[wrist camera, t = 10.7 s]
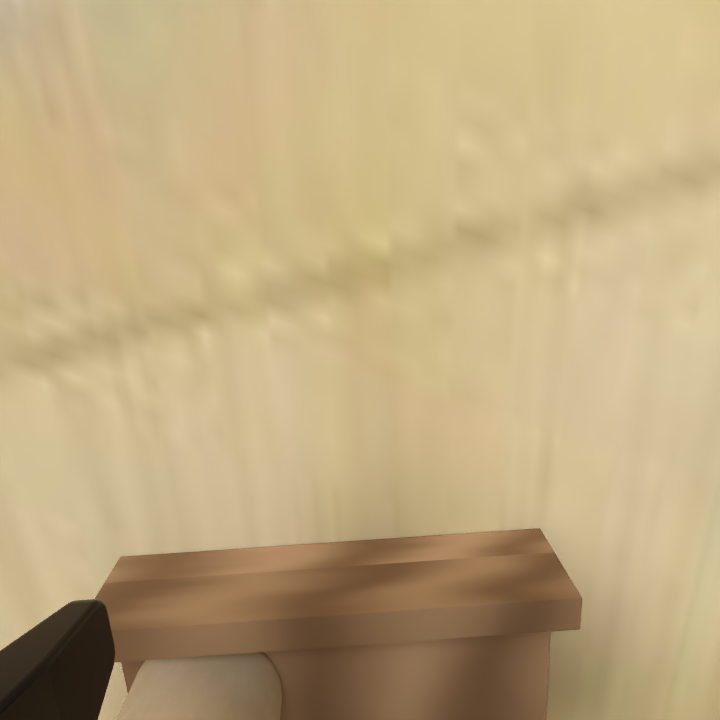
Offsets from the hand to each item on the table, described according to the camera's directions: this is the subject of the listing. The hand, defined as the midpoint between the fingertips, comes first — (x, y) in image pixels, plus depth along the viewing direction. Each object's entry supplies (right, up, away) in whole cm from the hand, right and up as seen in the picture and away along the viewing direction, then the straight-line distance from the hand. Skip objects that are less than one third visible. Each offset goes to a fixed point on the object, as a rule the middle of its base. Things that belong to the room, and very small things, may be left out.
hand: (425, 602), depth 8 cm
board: (-2, -8, +15) cm, 17 cm away
